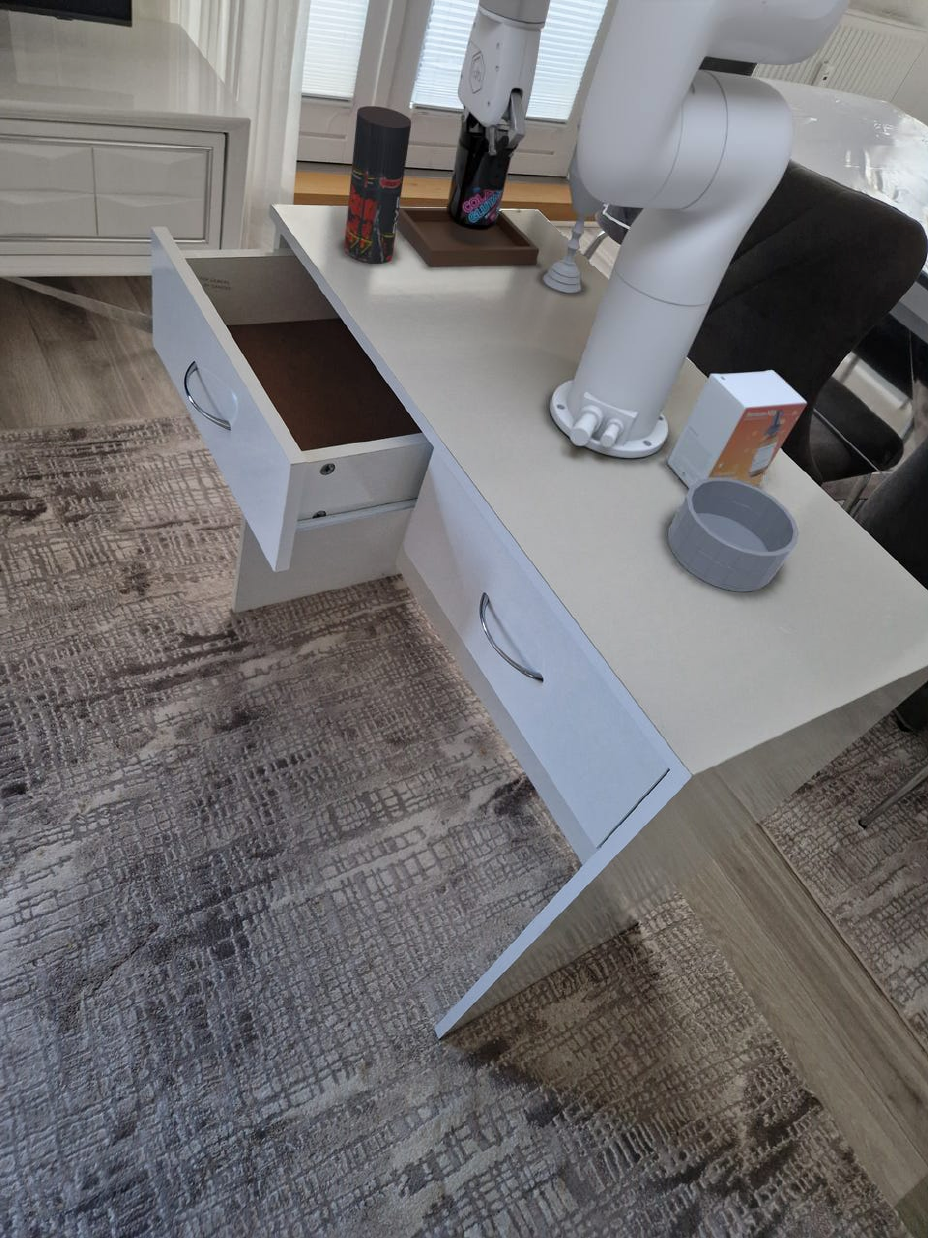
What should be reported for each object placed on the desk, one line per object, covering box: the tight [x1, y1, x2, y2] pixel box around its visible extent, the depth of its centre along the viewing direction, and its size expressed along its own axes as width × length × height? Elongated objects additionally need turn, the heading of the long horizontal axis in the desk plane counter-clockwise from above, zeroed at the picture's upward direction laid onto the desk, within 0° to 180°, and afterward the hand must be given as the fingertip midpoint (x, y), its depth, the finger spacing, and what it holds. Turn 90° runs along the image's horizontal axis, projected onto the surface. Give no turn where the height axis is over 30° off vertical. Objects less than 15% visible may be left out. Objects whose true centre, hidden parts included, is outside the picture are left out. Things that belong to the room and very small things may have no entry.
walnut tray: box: [396, 206, 540, 268], centre depth 106 cm, size 16×12×2 cm
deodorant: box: [343, 105, 412, 265], centre depth 94 cm, size 6×6×15 cm
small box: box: [667, 369, 808, 489], centre depth 79 cm, size 8×6×10 cm
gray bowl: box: [667, 477, 800, 593], centre depth 73 cm, size 10×10×4 cm
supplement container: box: [445, 121, 512, 230], centre depth 101 cm, size 7×7×10 cm
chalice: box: [542, 118, 606, 294], centre depth 99 cm, size 7×7×18 cm
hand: (478, 173), depth 101 cm, fingers closed on supplement container, 6 cm apart
